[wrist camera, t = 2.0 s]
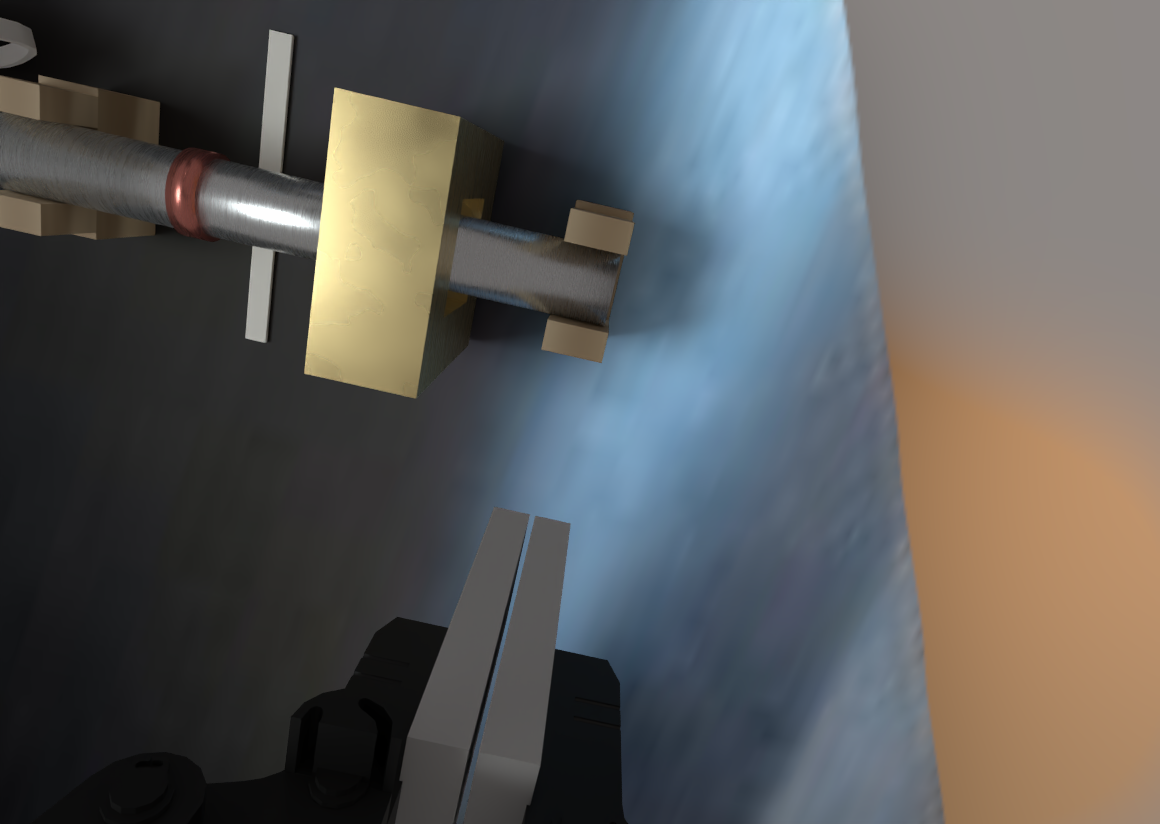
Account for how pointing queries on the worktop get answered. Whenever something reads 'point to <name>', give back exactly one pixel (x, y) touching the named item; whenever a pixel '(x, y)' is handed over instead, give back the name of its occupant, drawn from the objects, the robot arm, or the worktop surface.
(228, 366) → the worktop surface
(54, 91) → the cradles
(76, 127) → the pipe
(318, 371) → the collar
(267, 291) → the tick mark
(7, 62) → the cup
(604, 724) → the robot arm
